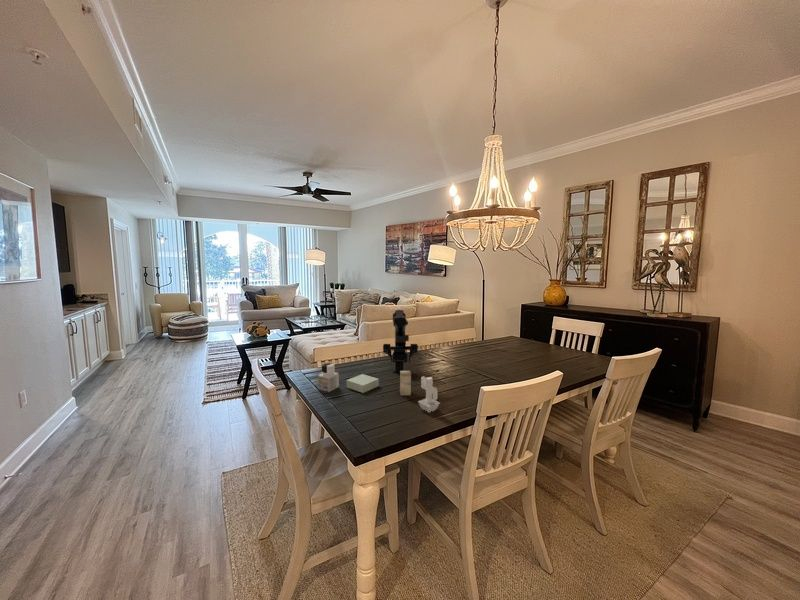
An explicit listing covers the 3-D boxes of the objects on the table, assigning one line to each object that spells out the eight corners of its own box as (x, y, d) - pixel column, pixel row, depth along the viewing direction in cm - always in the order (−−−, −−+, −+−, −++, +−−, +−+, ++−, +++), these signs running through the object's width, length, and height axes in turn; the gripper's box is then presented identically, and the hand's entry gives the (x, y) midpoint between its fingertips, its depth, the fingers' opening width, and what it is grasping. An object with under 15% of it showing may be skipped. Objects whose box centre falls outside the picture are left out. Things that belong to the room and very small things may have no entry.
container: (318, 389, 174) (317, 365, 172) (327, 384, 181) (327, 361, 179) (329, 392, 170) (329, 367, 169) (339, 387, 177) (338, 363, 175)
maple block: (400, 391, 172) (400, 370, 170) (409, 391, 172) (409, 370, 171) (400, 395, 167) (401, 374, 165) (410, 394, 167) (411, 373, 166)
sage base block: (362, 380, 186) (362, 374, 185) (378, 386, 179) (378, 378, 178) (346, 387, 176) (346, 380, 176) (363, 393, 169) (363, 385, 169)
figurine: (430, 415, 145) (430, 382, 143) (415, 408, 153) (416, 376, 151) (441, 411, 150) (442, 379, 148) (427, 404, 157) (428, 373, 155)
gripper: (383, 329, 178) (382, 355, 169) (417, 329, 178) (419, 355, 169) (383, 339, 187) (382, 365, 178) (416, 339, 187) (417, 365, 178)
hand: (400, 362), depth 175 cm, fingers open, 9 cm apart
